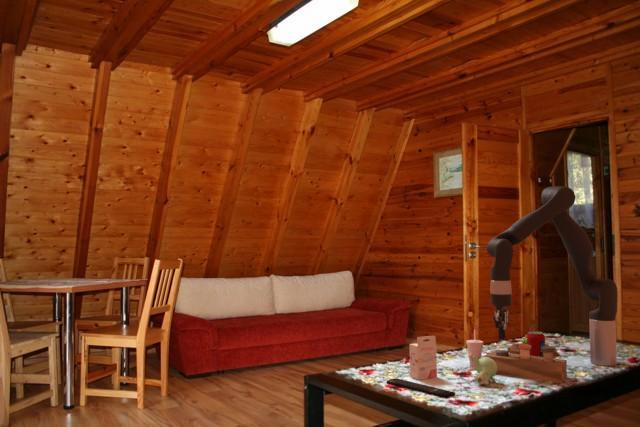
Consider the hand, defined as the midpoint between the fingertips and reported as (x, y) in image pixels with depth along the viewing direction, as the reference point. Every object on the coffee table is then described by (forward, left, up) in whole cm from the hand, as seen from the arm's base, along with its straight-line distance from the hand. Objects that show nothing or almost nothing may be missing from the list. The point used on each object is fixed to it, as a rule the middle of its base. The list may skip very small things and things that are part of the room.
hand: (502, 339), depth 198 cm
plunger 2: (0, +16, -8) cm, 18 cm away
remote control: (+39, -16, -13) cm, 44 cm away
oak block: (0, +8, -12) cm, 14 cm away
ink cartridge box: (+24, -21, -12) cm, 34 cm away
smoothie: (-2, -11, -12) cm, 16 cm away
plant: (-42, +1, -12) cm, 44 cm away
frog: (+20, -1, -12) cm, 24 cm away
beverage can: (-22, +7, -12) cm, 26 cm away
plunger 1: (0, 0, -11) cm, 11 cm away
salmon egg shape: (0, +8, -8) cm, 11 cm away
